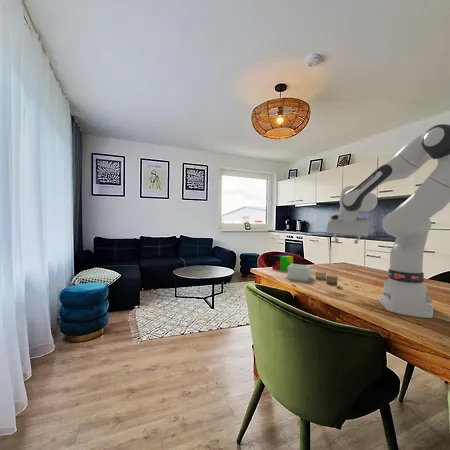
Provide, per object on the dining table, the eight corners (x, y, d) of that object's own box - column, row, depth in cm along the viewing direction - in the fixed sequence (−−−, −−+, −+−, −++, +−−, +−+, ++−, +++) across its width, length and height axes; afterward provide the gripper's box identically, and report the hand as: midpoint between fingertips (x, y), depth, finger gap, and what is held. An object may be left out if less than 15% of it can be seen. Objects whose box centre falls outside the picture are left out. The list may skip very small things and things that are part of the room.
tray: (309, 283, 137) (309, 282, 137) (283, 280, 144) (283, 278, 144) (313, 278, 149) (313, 277, 149) (290, 276, 156) (290, 274, 156)
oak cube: (324, 281, 143) (324, 273, 143) (315, 280, 145) (315, 272, 145) (325, 280, 147) (326, 271, 147) (316, 279, 150) (317, 270, 150)
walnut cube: (336, 287, 132) (336, 277, 131) (326, 285, 134) (326, 276, 134) (337, 285, 136) (337, 275, 136) (327, 283, 138) (327, 274, 138)
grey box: (306, 281, 139) (307, 268, 139) (287, 278, 144) (287, 266, 144) (310, 277, 148) (310, 265, 148) (292, 275, 154) (292, 263, 154)
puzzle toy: (281, 268, 182) (281, 254, 182) (292, 270, 174) (293, 256, 174) (272, 269, 176) (272, 255, 175) (284, 272, 168) (284, 257, 168)
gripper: (370, 218, 131) (368, 244, 132) (328, 216, 142) (327, 240, 142) (370, 217, 126) (368, 245, 127) (326, 216, 136) (325, 241, 137)
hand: (346, 242), depth 135 cm, fingers open, 8 cm apart
